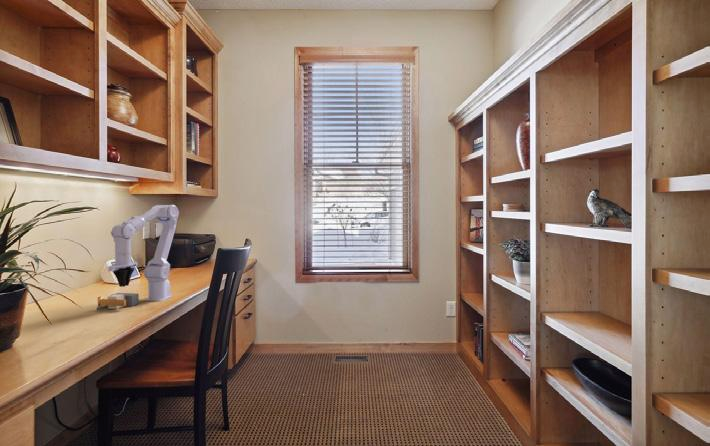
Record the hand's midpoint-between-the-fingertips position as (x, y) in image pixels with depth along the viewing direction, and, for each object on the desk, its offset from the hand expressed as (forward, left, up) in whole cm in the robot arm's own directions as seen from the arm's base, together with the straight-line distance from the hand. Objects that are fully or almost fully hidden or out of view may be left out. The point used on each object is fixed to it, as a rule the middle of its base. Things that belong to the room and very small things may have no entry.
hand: (124, 286), depth 164 cm
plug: (-2, -4, -9) cm, 10 cm away
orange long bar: (+3, -4, -8) cm, 9 cm away
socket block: (-2, -5, -9) cm, 11 cm away
